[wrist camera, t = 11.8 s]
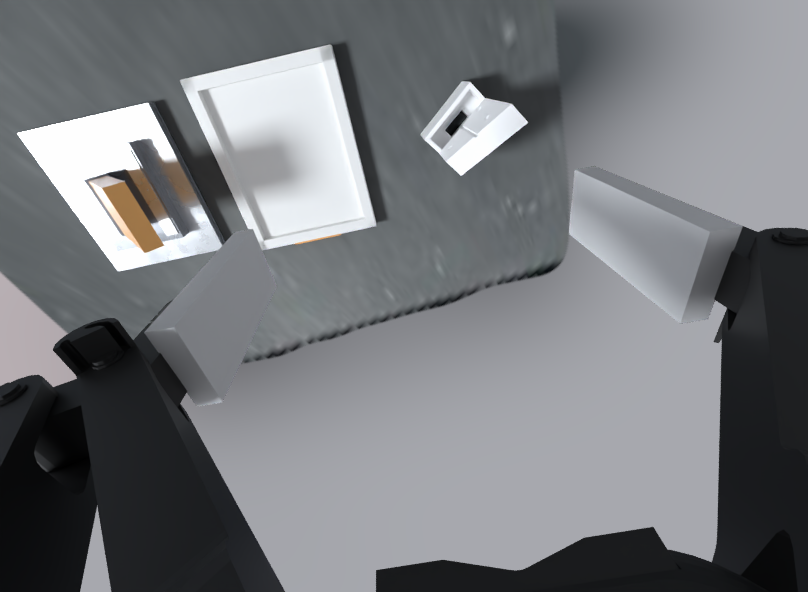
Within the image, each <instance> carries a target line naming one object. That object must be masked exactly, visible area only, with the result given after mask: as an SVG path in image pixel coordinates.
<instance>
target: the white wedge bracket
mask: <svg viewBox="0 0 808 592" xmlns="http://www.w3.org/2000/svg"><path fill="white" fill-rule="evenodd" d="M460 111H462V112H463V113H464V114H465V115H466V116H467V118H466V119H465V120H464V121H463V123H462V124H461V125H460V126H459V127H458V129H457V130H456V131H455V132H454V133H453V135H452V136H450V135H449V134H448V133H447V132H446V131H445V130H446V129H447V127H448V126H449V125H450V124H451V122H452V121H453V120H454V119H455V118H456V116H457V115H458V114H459V113H460ZM527 123H528V122H527V121H526V119H525V118H524V117H523V116H522V115H521V114H520V113H519V112H518V110H517V109H516V108H515V107H514V106H513V105H512V104H510V103H506V102H501V101H497V100H492V99H487V98H484V97H483V95H482V94H481V93H480V92H479V91H478V90H477V89H476V88H475V87H474V86H473V84H472V83H471V82H466V81H462V82H461V83H460V84H459V86H458V87H457V88H456V90H455V91H454V92H453V93H452V95H451V96H450V97H449V98H448V100H447V101H446V102H445V104H444V105H443V106H442V107H441V109H440V110H439V111H438V113H437V114H436V115H435V116H434V118H433V119H432V120H431V121H430V123H429V124H428V125H427V127H426V128H425V129H424V130H423V132H422V133H421V134H420V135H421V136H422V137H423V138H424V140H425V141H426V142H428V143H429V144H430V145H431V146H432V147H433V148H434V149H435V150H436V151H437V152H438V153H439V154H440V155H441V156H442V157H443V159H444V160H445V161H446V162H447V163H448V164H449V165H450V166H451V167H452V168H453V169H454V170H456V171H457V172H458V173H459V174H460V175H461V176H462V175H463V174H464V173H465V172H467V171H468V170H469V169H470V168H472V167H473V166H474V165H476V164H477V163H478V162H479V161H481V160H482V159H483V158H484V157H486V156H487V155H488V154H489V153H491V152H492V151H493V150H494V149H496V148H497V147H498V146H499V145H501V144H502V143H503V142H504V141H506V140H507V139H508V138H509V137H511V136H512V135H513V134H514V133H516V132H517V131H518V130H519V129H521V128H522V127H523V126H525V125H526V124H527Z"/></svg>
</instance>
